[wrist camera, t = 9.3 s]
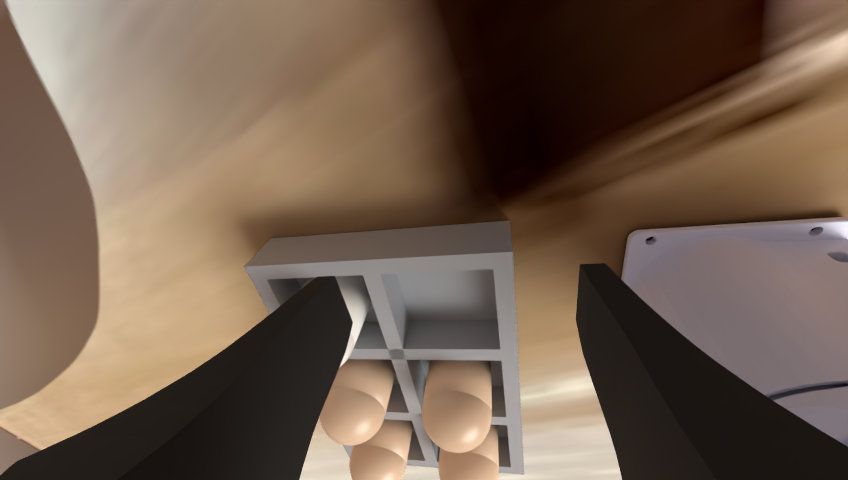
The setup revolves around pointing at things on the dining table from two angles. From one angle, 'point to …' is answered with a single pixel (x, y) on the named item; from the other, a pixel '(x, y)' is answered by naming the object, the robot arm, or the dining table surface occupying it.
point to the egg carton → (418, 346)
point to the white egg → (353, 305)
